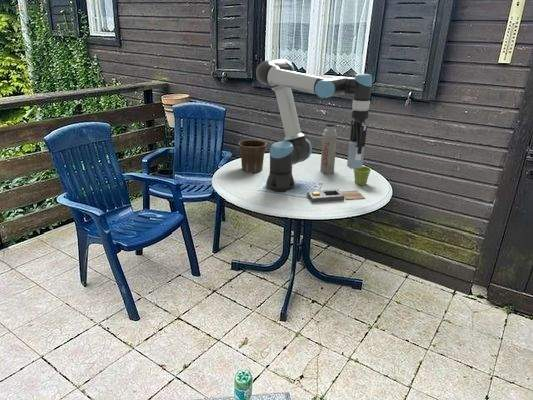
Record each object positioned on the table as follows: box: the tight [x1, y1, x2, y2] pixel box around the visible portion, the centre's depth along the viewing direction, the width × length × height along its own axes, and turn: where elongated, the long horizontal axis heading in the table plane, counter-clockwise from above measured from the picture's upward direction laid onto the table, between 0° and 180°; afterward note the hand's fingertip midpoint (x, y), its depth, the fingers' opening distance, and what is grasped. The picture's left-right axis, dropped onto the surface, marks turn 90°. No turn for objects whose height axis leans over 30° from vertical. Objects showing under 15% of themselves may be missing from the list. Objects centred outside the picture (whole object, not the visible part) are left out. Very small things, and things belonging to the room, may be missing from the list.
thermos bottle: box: [319, 123, 338, 174], centre depth 228 cm, size 8×8×28 cm
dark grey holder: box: [306, 188, 345, 203], centre depth 194 cm, size 9×16×4 cm, turn 101°
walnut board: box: [339, 190, 366, 201], centre depth 197 cm, size 10×10×1 cm
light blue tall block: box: [346, 141, 366, 170], centre depth 189 cm, size 4×6×12 cm
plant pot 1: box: [238, 139, 268, 174], centre depth 231 cm, size 16×16×16 cm
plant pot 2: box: [352, 165, 372, 186], centre depth 213 cm, size 9×9×9 cm
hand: (355, 158), depth 190 cm, fingers closed on light blue tall block, 4 cm apart
